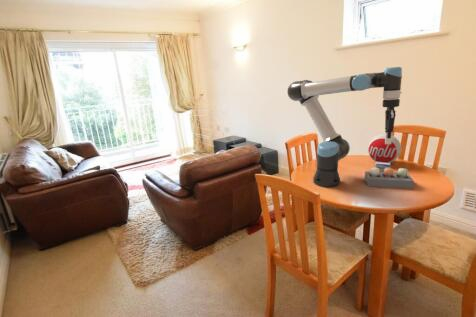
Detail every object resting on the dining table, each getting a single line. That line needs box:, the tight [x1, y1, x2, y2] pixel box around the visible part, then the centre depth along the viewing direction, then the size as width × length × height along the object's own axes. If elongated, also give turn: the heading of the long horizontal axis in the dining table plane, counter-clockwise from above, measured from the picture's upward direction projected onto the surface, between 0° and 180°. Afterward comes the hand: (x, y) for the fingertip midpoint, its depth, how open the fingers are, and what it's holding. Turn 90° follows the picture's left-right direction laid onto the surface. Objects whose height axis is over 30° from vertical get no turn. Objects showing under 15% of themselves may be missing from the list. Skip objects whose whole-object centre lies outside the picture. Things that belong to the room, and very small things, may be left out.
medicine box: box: [374, 161, 391, 172], centre depth 159 cm, size 8×4×9 cm, turn 62°
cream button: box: [370, 166, 380, 177], centre depth 151 cm, size 4×4×6 cm
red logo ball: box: [367, 133, 402, 164], centre depth 180 cm, size 20×20×20 cm
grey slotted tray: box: [364, 170, 415, 189], centre depth 150 cm, size 22×12×4 cm, turn 74°
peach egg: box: [384, 167, 394, 178], centre depth 149 cm, size 4×4×6 cm
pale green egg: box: [397, 167, 409, 178], centre depth 147 cm, size 4×4×6 cm
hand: (388, 143), depth 141 cm, fingers closed
